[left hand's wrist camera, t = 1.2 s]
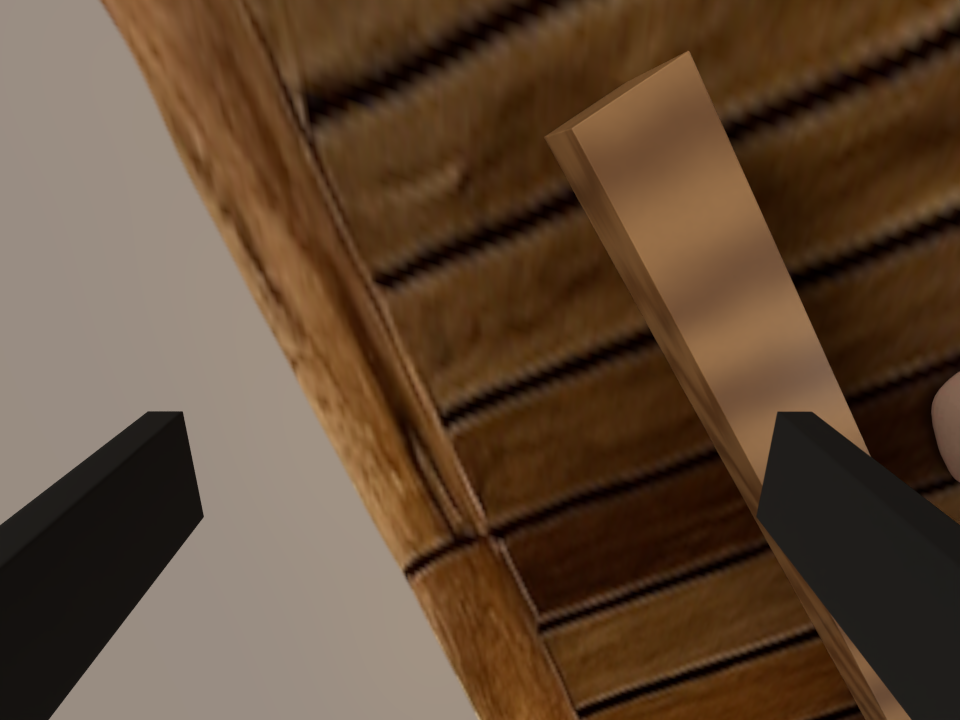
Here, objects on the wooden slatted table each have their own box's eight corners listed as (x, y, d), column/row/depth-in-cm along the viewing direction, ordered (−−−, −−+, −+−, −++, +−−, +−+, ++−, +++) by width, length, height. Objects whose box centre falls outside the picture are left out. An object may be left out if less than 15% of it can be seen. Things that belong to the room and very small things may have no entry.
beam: (543, 137, 28) (571, 128, 20) (626, 82, 27) (689, 50, 19) (926, 830, 46) (1021, 971, 38) (982, 810, 45) (1091, 949, 37)
